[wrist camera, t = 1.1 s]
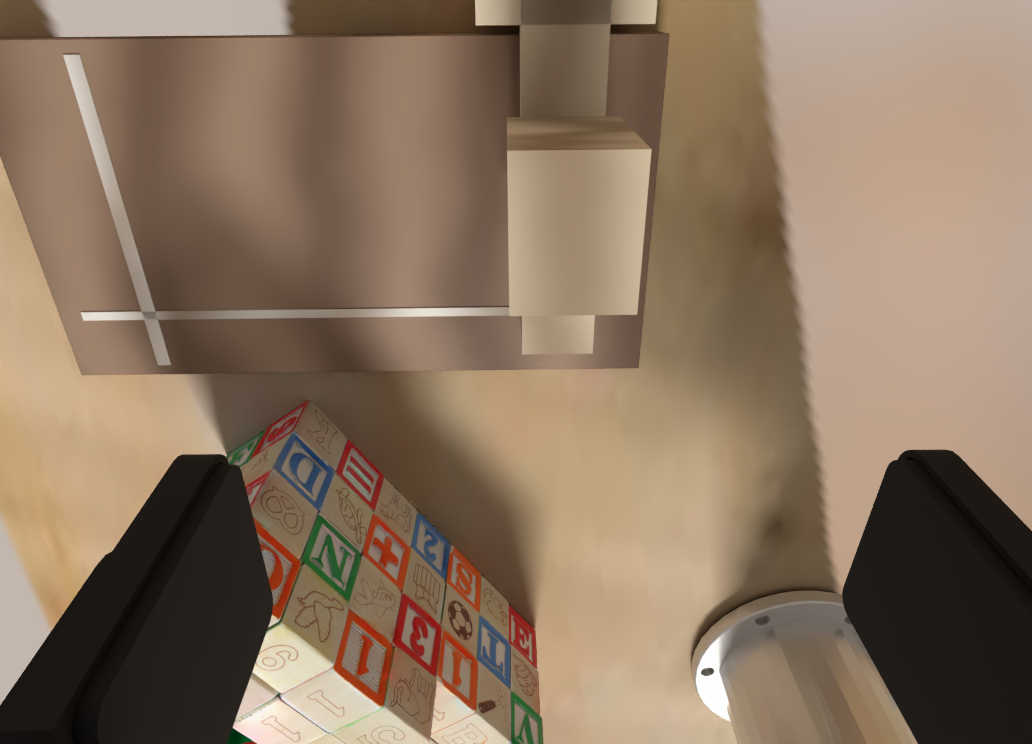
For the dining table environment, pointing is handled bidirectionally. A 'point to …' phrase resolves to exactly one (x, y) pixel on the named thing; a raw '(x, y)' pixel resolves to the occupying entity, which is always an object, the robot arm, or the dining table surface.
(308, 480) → the stack of blocks
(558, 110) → the beige block
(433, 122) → the board
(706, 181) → the dining table surface
